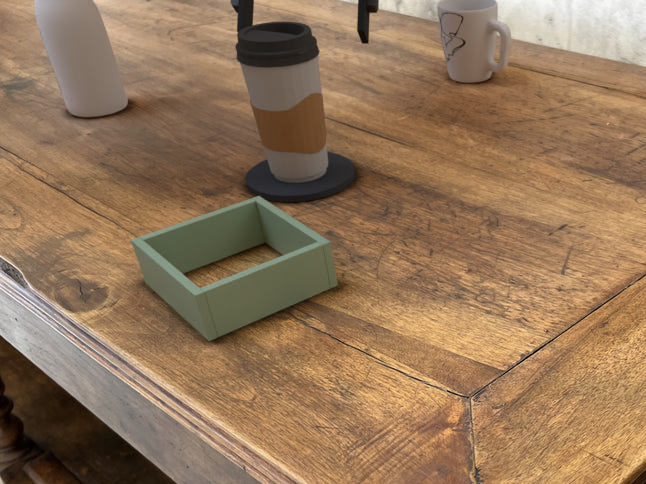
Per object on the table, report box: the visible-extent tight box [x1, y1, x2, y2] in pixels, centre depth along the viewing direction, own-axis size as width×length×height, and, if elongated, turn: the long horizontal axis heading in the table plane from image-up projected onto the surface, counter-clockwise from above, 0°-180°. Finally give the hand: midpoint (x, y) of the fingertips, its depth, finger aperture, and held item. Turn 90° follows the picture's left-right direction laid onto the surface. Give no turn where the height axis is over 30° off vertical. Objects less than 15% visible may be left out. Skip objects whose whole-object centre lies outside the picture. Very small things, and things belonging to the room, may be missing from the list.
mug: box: [436, 0, 512, 84], centre depth 113 cm, size 11×8×10 cm
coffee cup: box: [234, 21, 328, 183], centre depth 85 cm, size 8×8×15 cm
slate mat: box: [245, 151, 356, 203], centre depth 90 cm, size 12×12×1 cm
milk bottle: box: [34, 0, 129, 118], centre depth 102 cm, size 8×8×20 cm
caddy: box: [130, 196, 339, 342], centre depth 71 cm, size 13×13×4 cm
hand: (303, 37), depth 91 cm, fingers open, 13 cm apart
